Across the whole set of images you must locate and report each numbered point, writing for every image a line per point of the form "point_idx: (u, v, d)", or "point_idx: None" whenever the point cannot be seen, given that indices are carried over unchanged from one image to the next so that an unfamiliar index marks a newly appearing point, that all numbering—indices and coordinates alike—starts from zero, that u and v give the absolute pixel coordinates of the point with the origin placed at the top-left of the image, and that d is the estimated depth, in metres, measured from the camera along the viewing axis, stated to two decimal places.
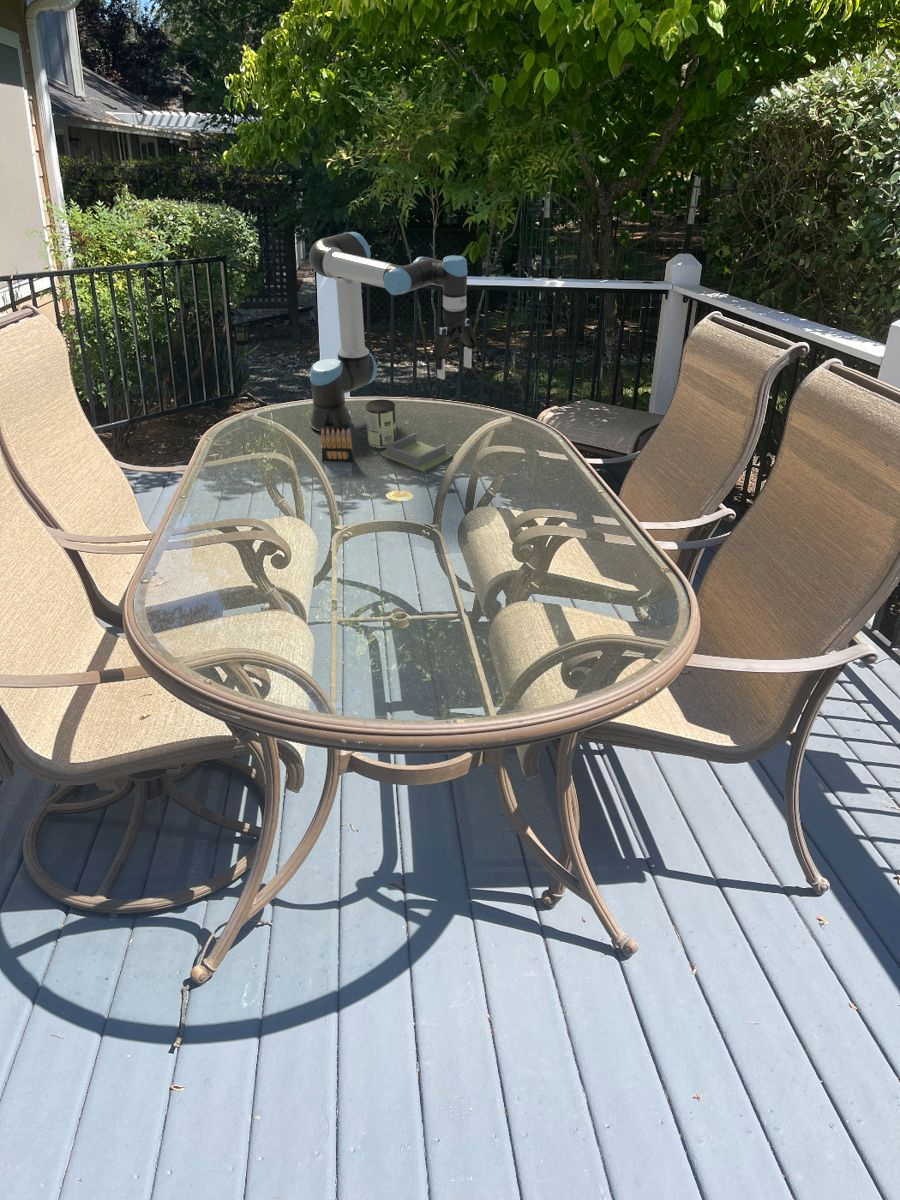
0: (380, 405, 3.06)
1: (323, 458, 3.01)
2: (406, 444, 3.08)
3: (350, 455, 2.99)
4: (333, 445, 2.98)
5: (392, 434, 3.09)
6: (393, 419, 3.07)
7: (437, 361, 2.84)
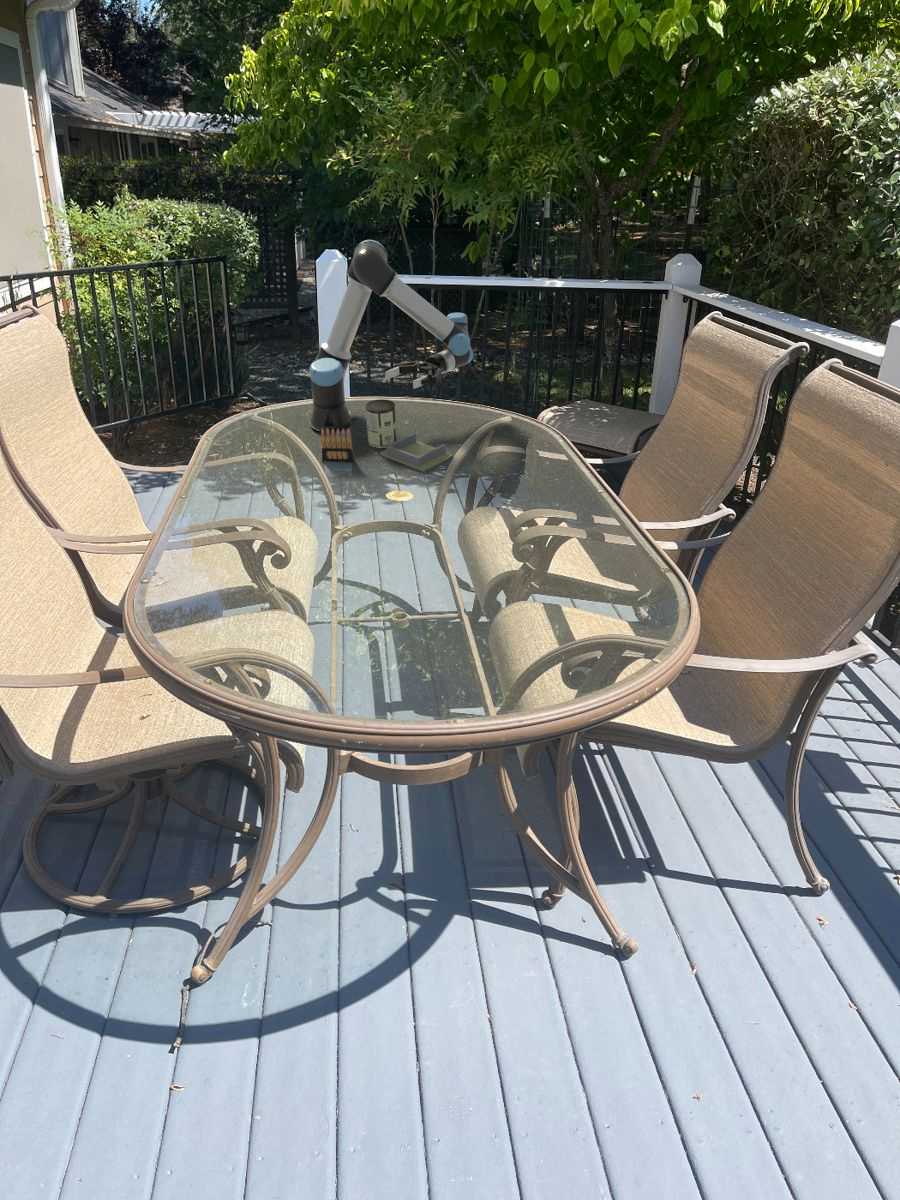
0: (380, 405, 3.06)
1: (323, 458, 3.01)
2: (406, 444, 3.08)
3: (350, 455, 2.99)
4: (333, 445, 2.98)
5: (392, 434, 3.09)
6: (393, 419, 3.07)
7: (428, 380, 3.08)
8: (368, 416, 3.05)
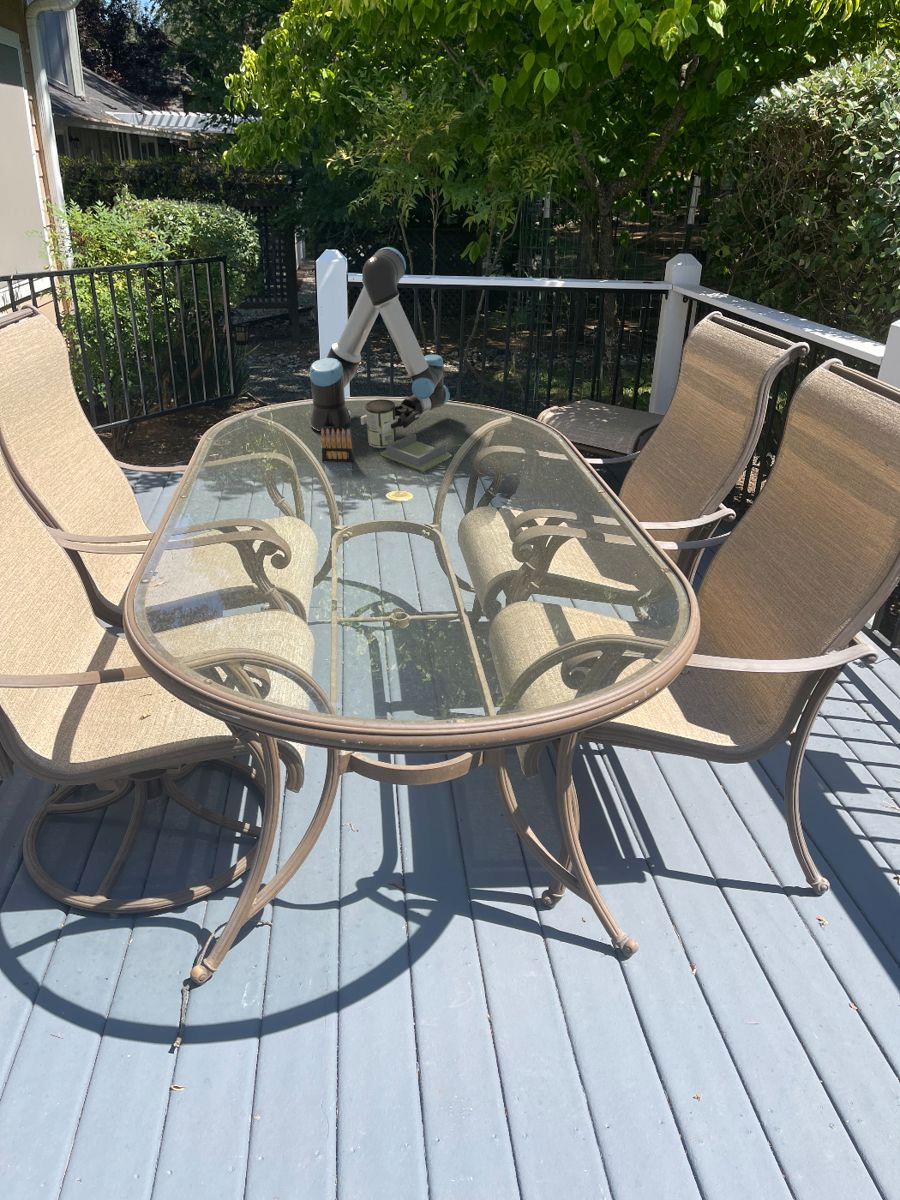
0: (380, 405, 3.06)
1: (323, 458, 3.01)
2: (406, 444, 3.08)
3: (350, 455, 2.99)
4: (333, 445, 2.98)
5: (392, 433, 3.09)
6: (393, 419, 3.07)
7: (398, 424, 3.07)
8: (368, 416, 3.05)
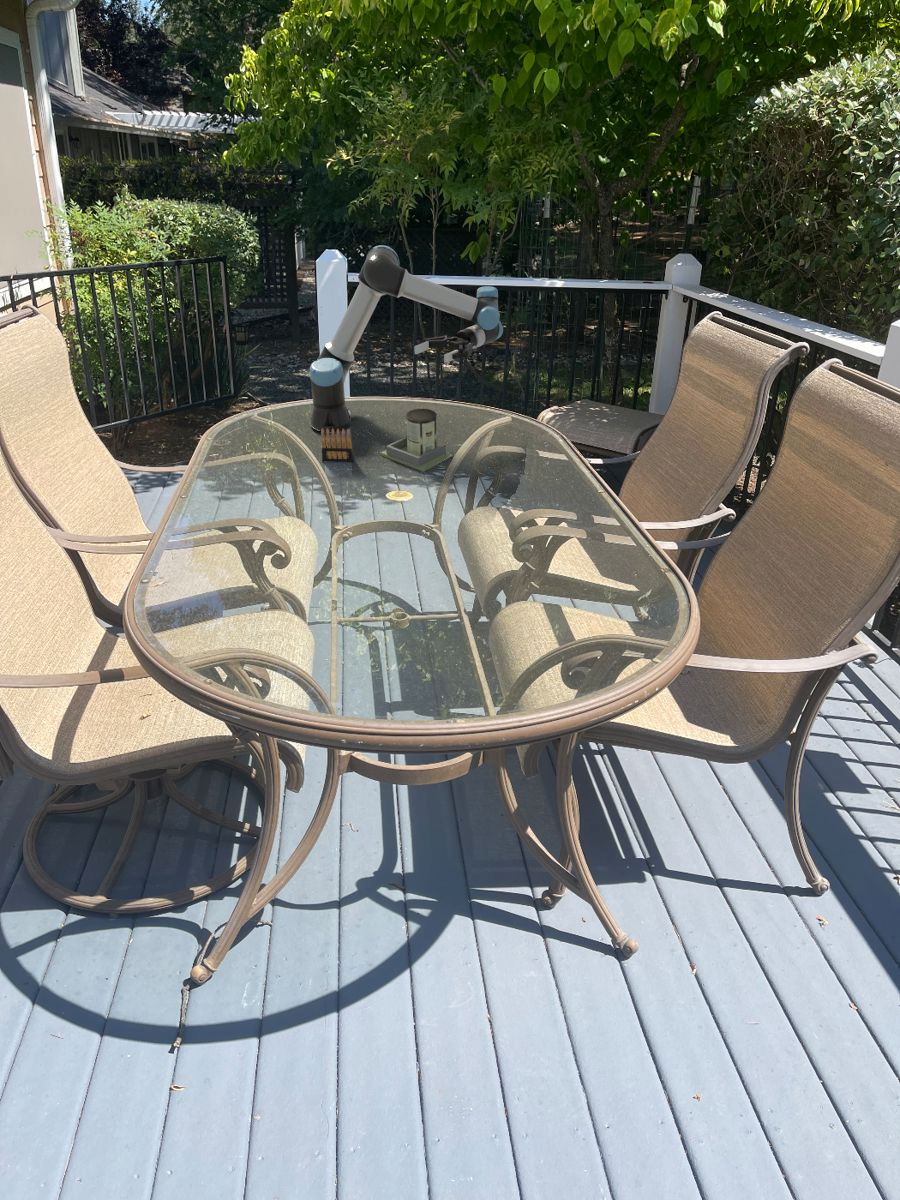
0: (422, 415, 2.96)
1: (323, 458, 3.01)
2: (406, 444, 3.08)
3: (350, 455, 2.99)
4: (333, 445, 2.98)
5: (433, 444, 2.99)
6: (434, 429, 2.97)
7: (460, 354, 3.00)
8: (409, 426, 2.95)
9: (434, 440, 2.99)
